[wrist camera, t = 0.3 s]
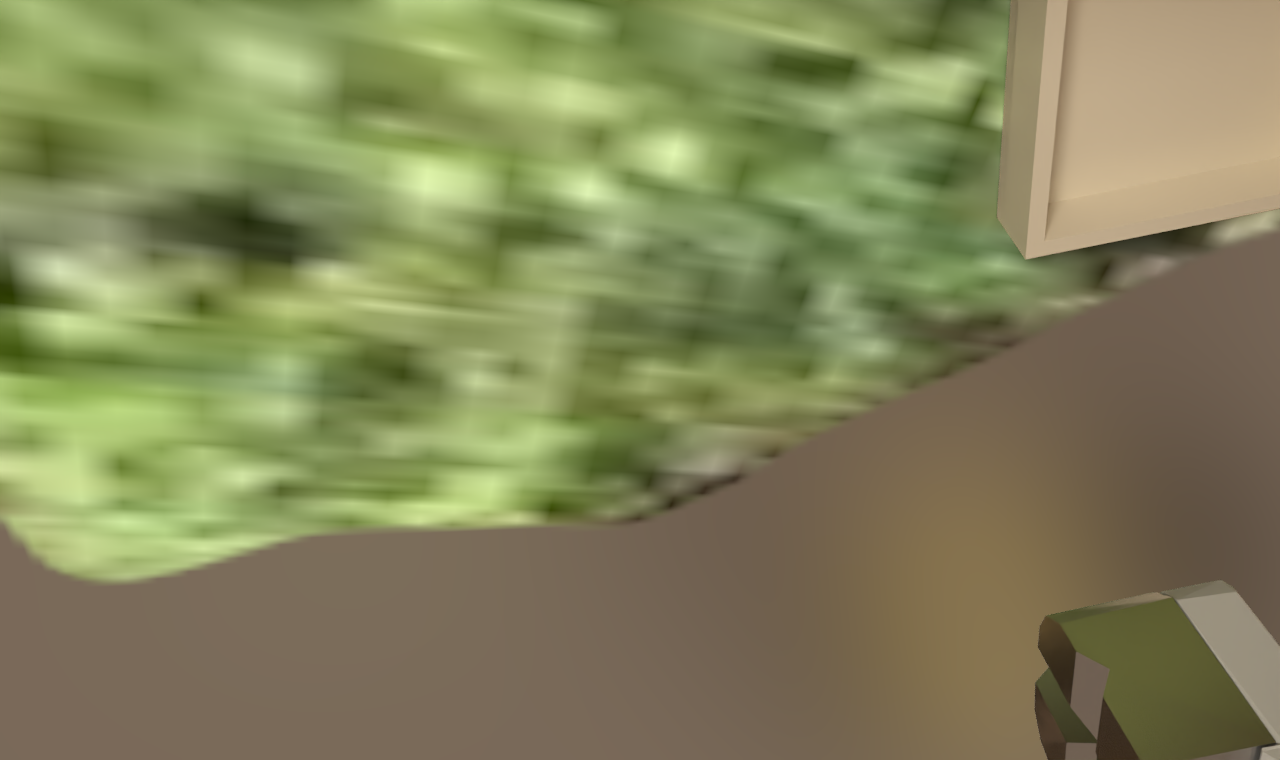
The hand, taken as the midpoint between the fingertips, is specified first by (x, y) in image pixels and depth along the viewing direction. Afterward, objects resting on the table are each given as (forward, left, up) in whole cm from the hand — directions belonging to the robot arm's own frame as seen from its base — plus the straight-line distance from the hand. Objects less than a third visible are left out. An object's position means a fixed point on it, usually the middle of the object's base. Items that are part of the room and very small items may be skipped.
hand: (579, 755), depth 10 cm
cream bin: (+17, +26, -39) cm, 50 cm away
